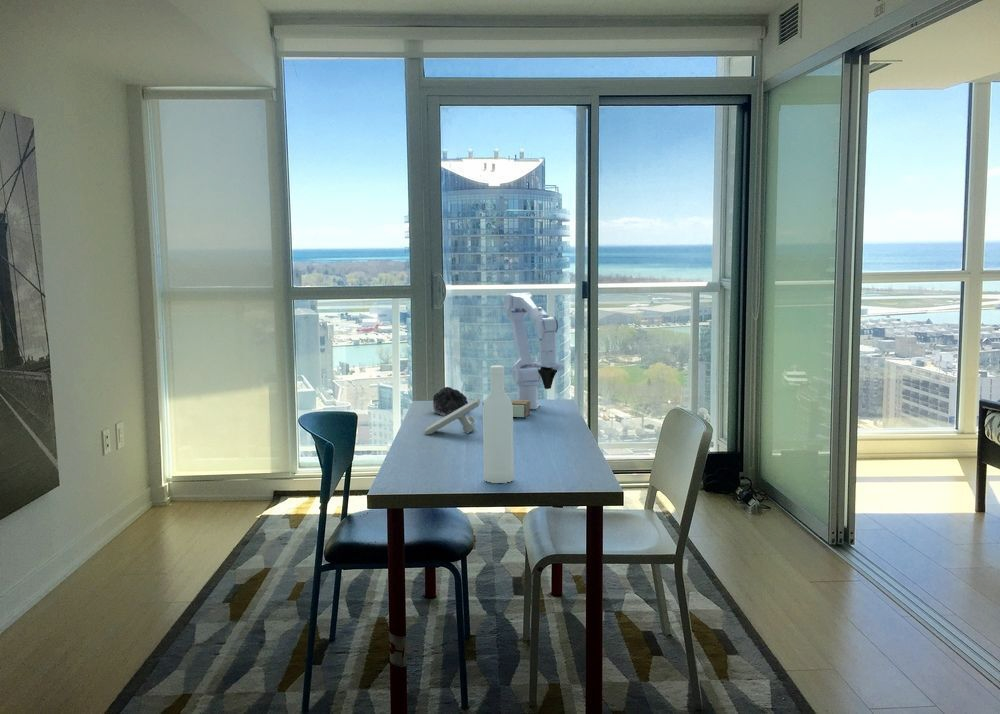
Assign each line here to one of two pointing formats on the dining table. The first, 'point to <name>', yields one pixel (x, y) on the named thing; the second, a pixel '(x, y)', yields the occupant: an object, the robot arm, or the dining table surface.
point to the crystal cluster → (448, 401)
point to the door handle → (457, 415)
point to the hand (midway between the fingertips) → (547, 388)
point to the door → (519, 411)
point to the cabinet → (522, 402)
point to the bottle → (498, 431)
